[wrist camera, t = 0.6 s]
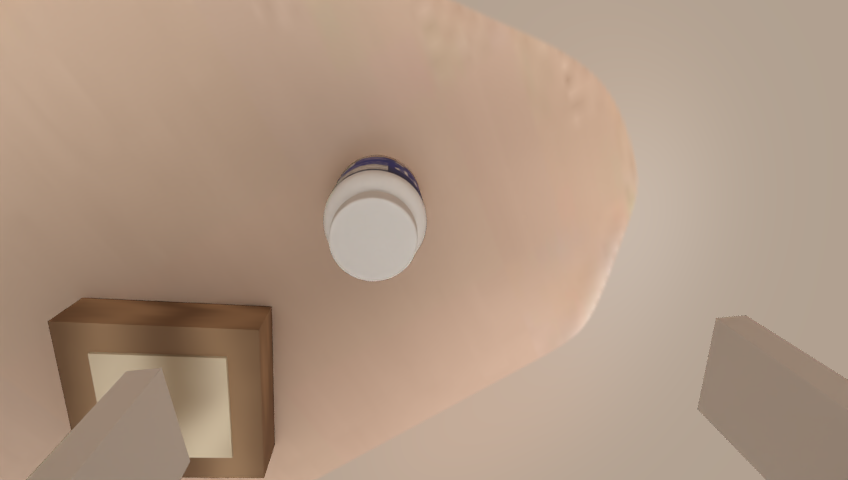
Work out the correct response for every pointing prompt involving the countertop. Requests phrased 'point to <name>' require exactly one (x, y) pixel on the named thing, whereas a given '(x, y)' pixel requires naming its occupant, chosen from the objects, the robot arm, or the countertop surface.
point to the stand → (179, 372)
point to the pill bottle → (375, 218)
